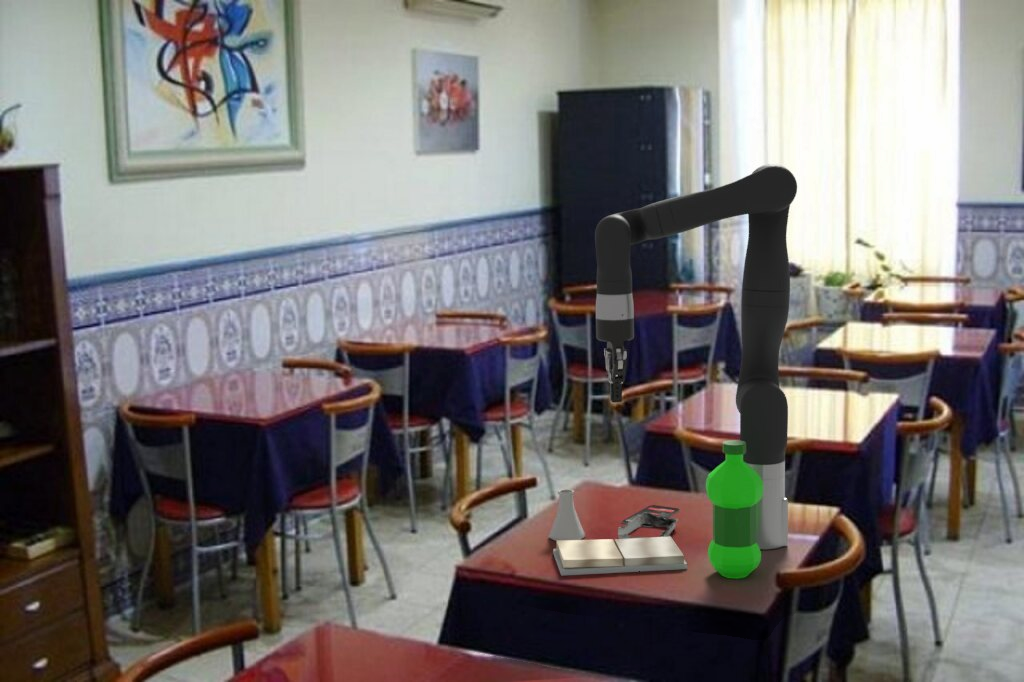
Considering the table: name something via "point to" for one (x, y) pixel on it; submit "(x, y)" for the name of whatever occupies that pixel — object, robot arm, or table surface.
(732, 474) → the plastic bottle
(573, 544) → the cream wavy square sheet
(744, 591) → the table surface
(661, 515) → the smartphone
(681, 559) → the laid plank
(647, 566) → the underlay board
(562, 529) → the flask
